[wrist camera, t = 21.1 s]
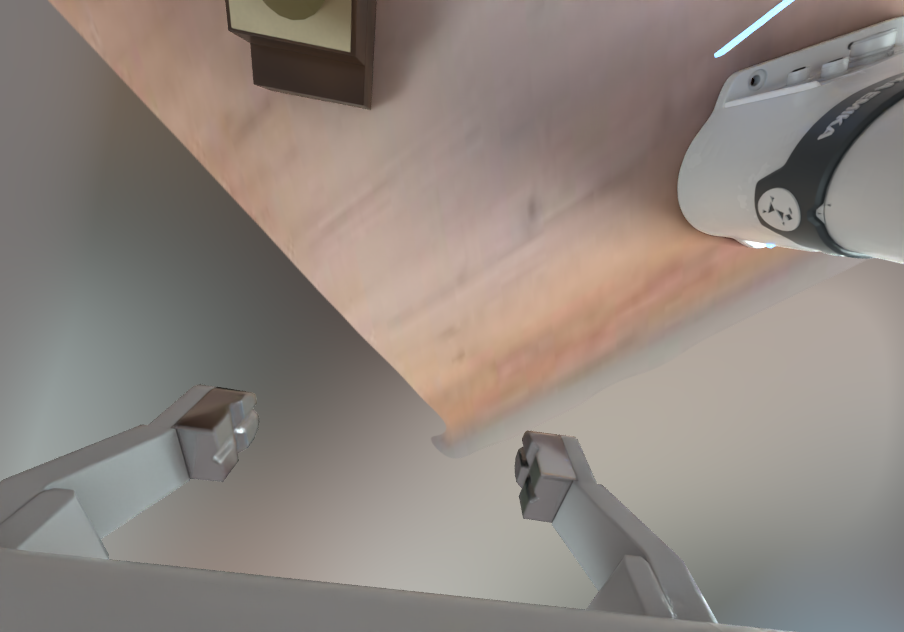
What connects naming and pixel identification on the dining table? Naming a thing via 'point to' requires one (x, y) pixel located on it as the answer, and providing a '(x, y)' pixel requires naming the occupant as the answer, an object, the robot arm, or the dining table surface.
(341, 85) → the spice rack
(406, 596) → the robot arm
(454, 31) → the dining table surface
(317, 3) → the cork
